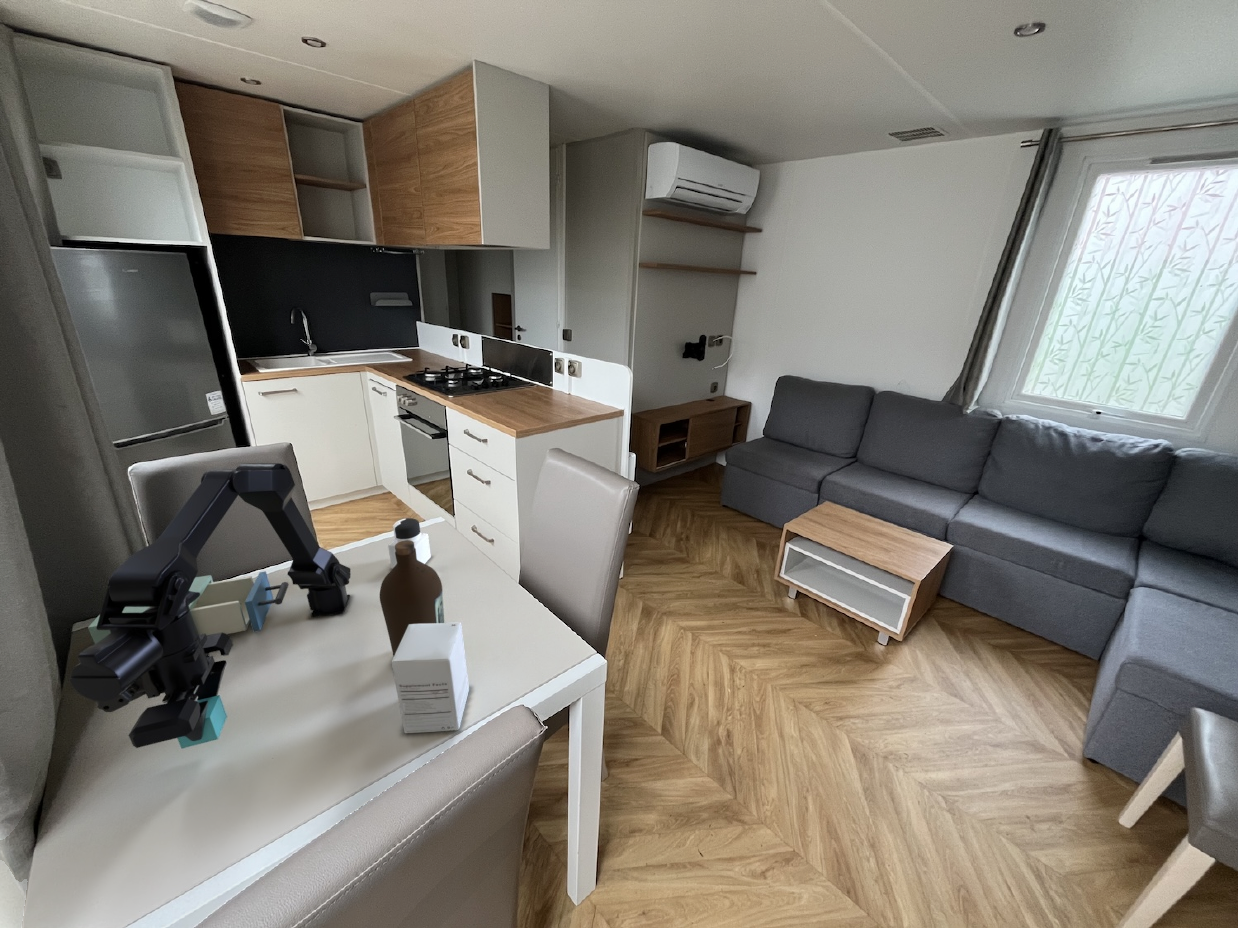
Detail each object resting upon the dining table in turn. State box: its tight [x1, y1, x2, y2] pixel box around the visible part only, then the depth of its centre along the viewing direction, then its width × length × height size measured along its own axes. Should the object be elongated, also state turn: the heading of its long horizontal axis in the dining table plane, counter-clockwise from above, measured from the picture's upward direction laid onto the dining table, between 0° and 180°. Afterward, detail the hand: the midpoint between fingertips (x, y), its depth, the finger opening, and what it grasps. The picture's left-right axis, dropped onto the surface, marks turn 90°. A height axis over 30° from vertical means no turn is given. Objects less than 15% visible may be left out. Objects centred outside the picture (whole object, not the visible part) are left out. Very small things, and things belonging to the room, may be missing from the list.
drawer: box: [191, 570, 290, 635], centre depth 102 cm, size 18×11×7 cm, turn 112°
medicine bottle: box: [387, 517, 432, 570], centre depth 125 cm, size 7×7×12 cm
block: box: [176, 694, 228, 749], centre depth 74 cm, size 4×4×4 cm
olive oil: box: [379, 540, 445, 658], centre depth 91 cm, size 11×11×25 cm
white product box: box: [391, 621, 470, 734], centre depth 81 cm, size 9×9×15 cm
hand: (203, 726), depth 74 cm, fingers closed on block, 4 cm apart
